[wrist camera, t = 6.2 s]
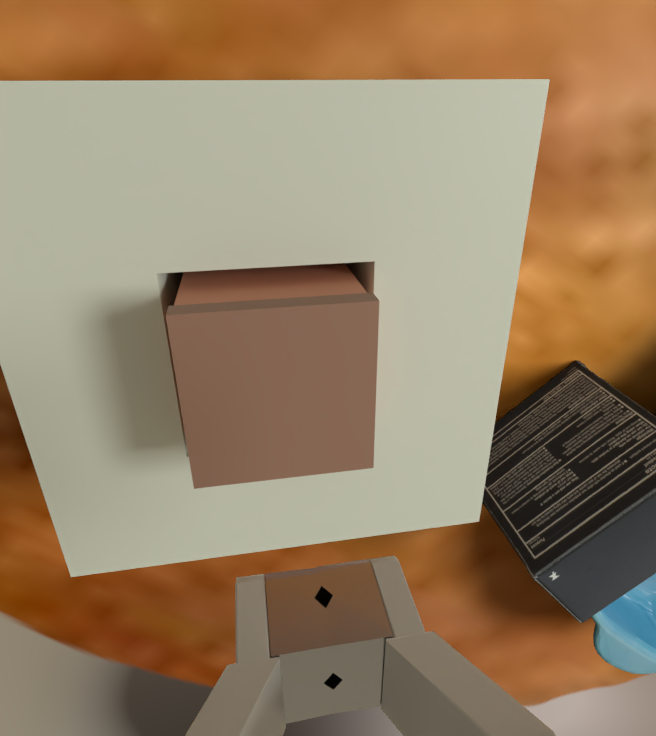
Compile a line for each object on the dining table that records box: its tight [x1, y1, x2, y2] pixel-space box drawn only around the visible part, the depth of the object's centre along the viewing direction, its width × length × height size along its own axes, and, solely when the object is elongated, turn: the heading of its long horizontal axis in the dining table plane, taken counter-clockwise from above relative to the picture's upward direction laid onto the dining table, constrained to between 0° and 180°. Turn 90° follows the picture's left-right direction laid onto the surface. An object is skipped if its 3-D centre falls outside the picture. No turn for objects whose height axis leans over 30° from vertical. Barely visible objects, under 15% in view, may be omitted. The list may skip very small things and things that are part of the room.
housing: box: [0, 79, 550, 577], centre depth 23 cm, size 19×19×10 cm
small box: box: [482, 361, 656, 623], centre depth 31 cm, size 11×6×10 cm, turn 131°
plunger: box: [166, 263, 379, 489], centre depth 21 cm, size 6×6×12 cm
